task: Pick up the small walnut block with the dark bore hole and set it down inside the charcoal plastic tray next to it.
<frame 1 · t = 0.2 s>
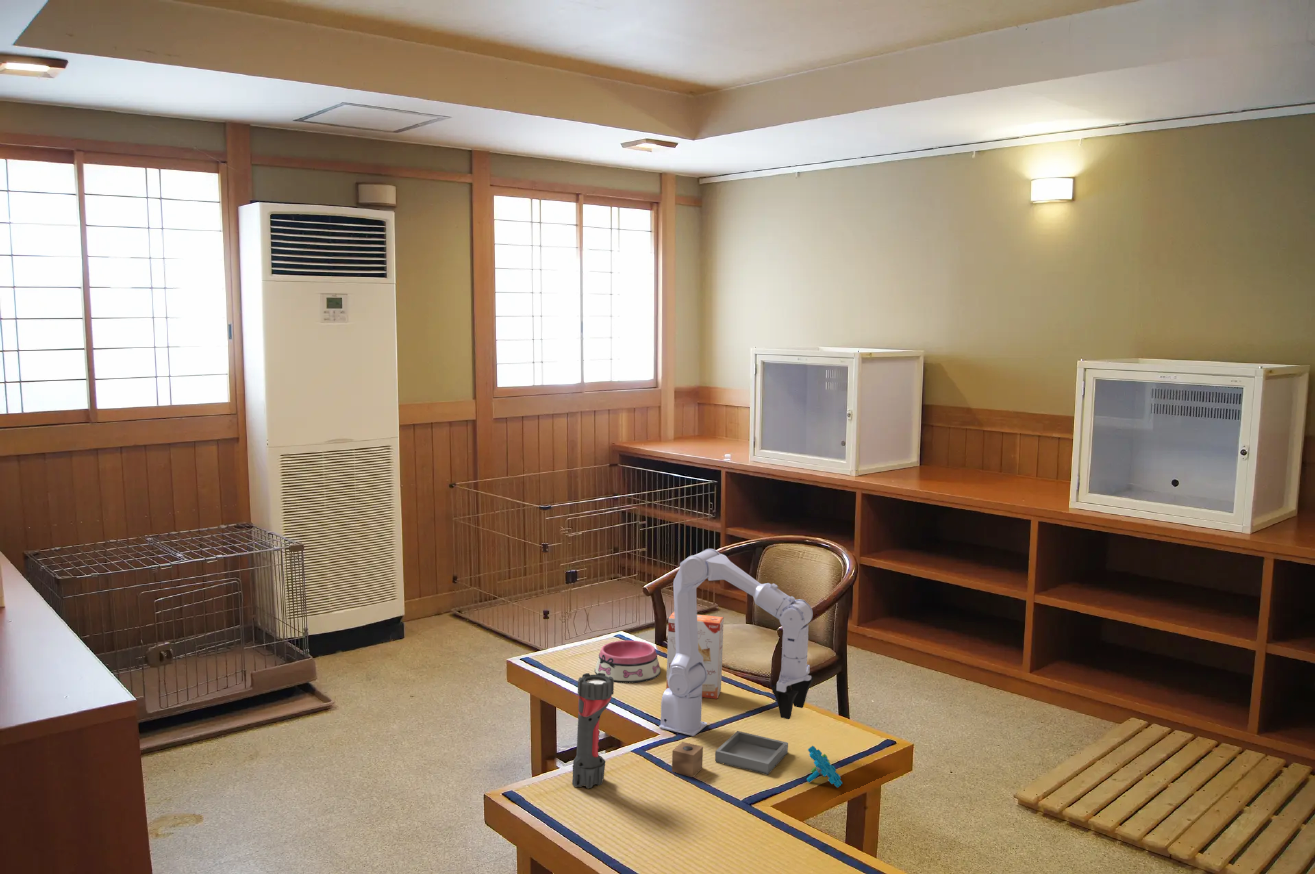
hand: (792, 712, 220), 10 cm above the table, tool pointing down, fingers open, 7 cm apart
tray: (751, 757, 219), on the table
dog bowl: (627, 672, 271), on the table
walnut block: (687, 770, 212), on the table
gear: (823, 783, 208), on the table
cracker box: (693, 693, 256), on the table
flashlight: (593, 782, 206), on the table
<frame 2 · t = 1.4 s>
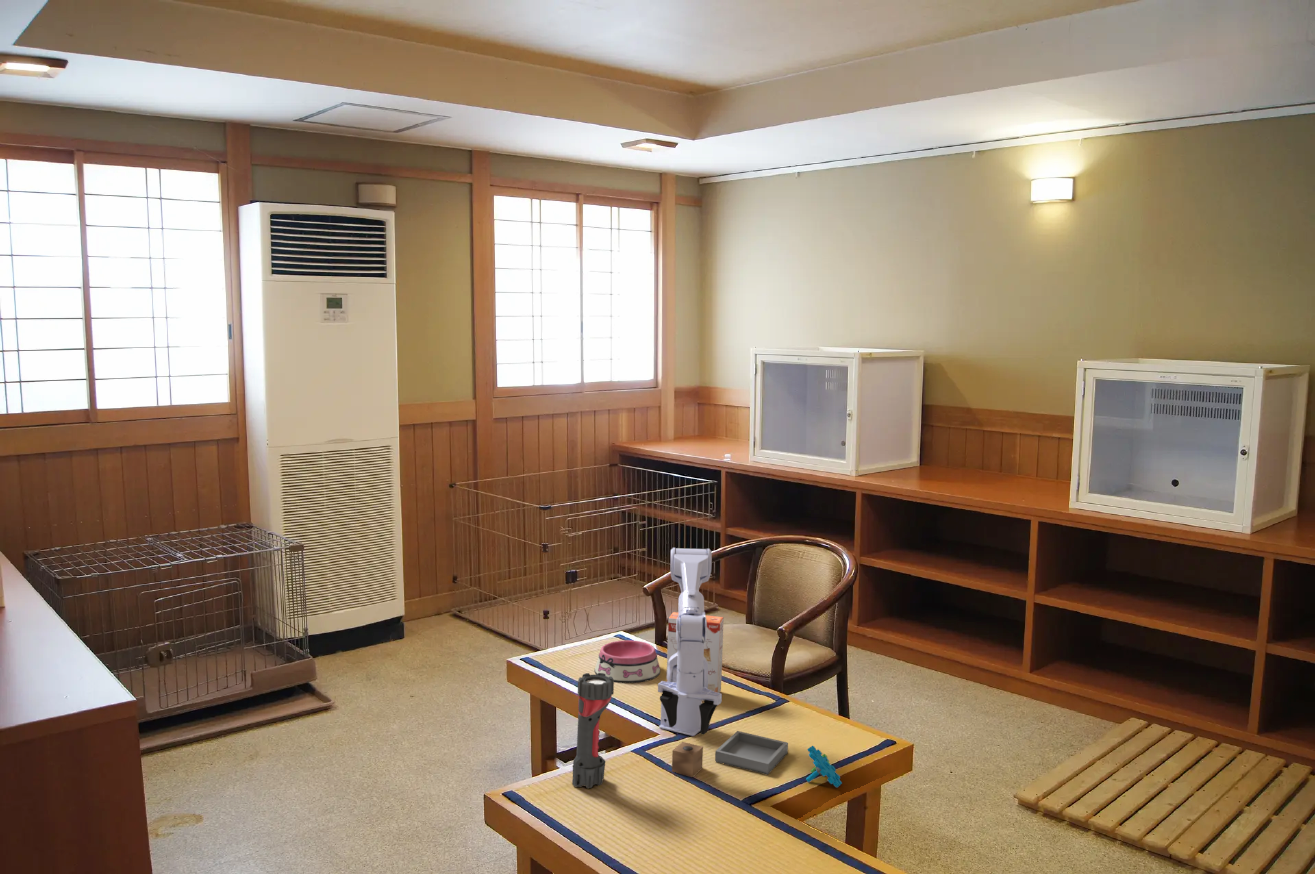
hand: (688, 729, 211), 9 cm above the table, tool pointing down, fingers open, 7 cm apart
nothing on the table moved.
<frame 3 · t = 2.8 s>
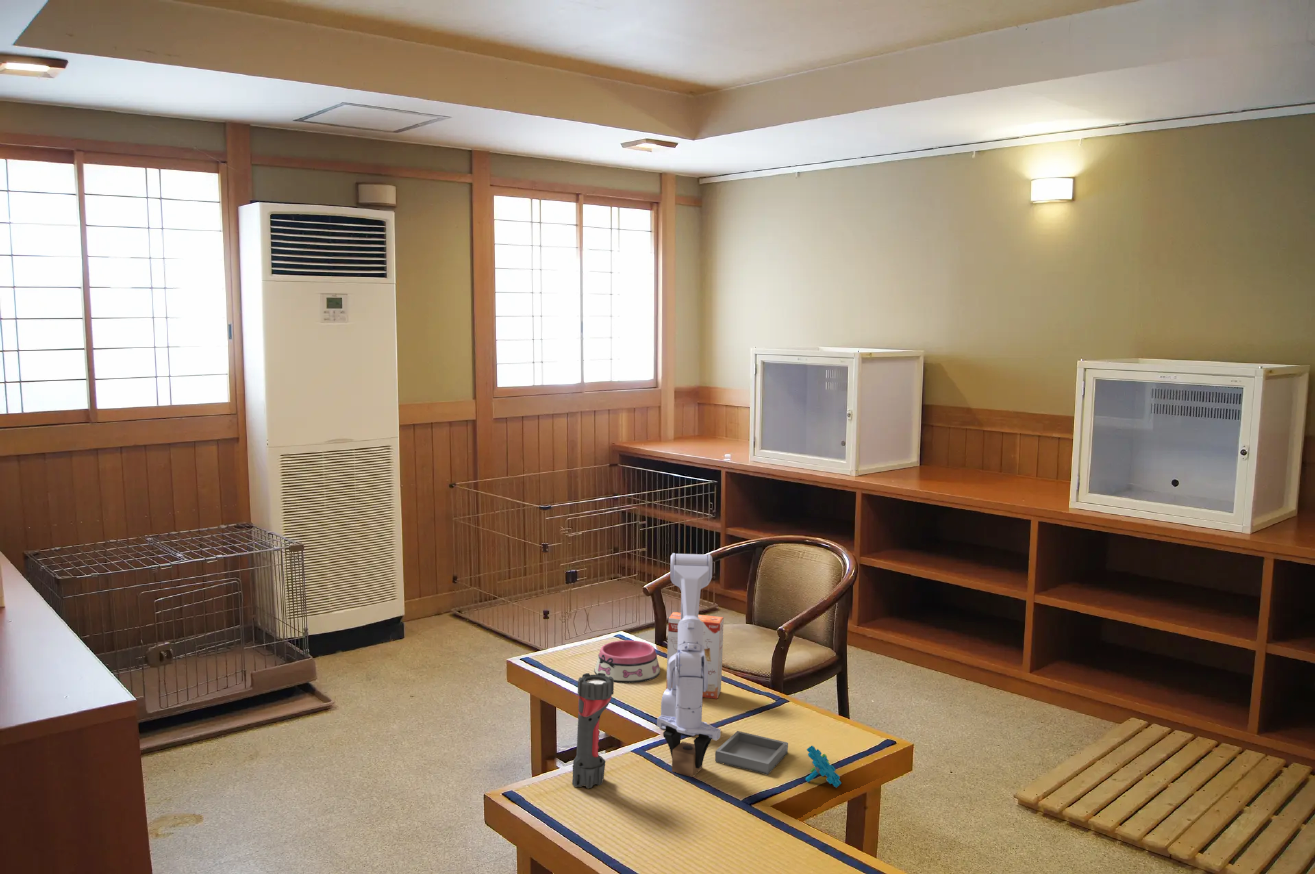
hand: (687, 763, 212), 1 cm above the table, tool pointing down, fingers closed on walnut block, 5 cm apart
walnut block: (687, 769, 212), on the table, touching gripper
everything else where it was.
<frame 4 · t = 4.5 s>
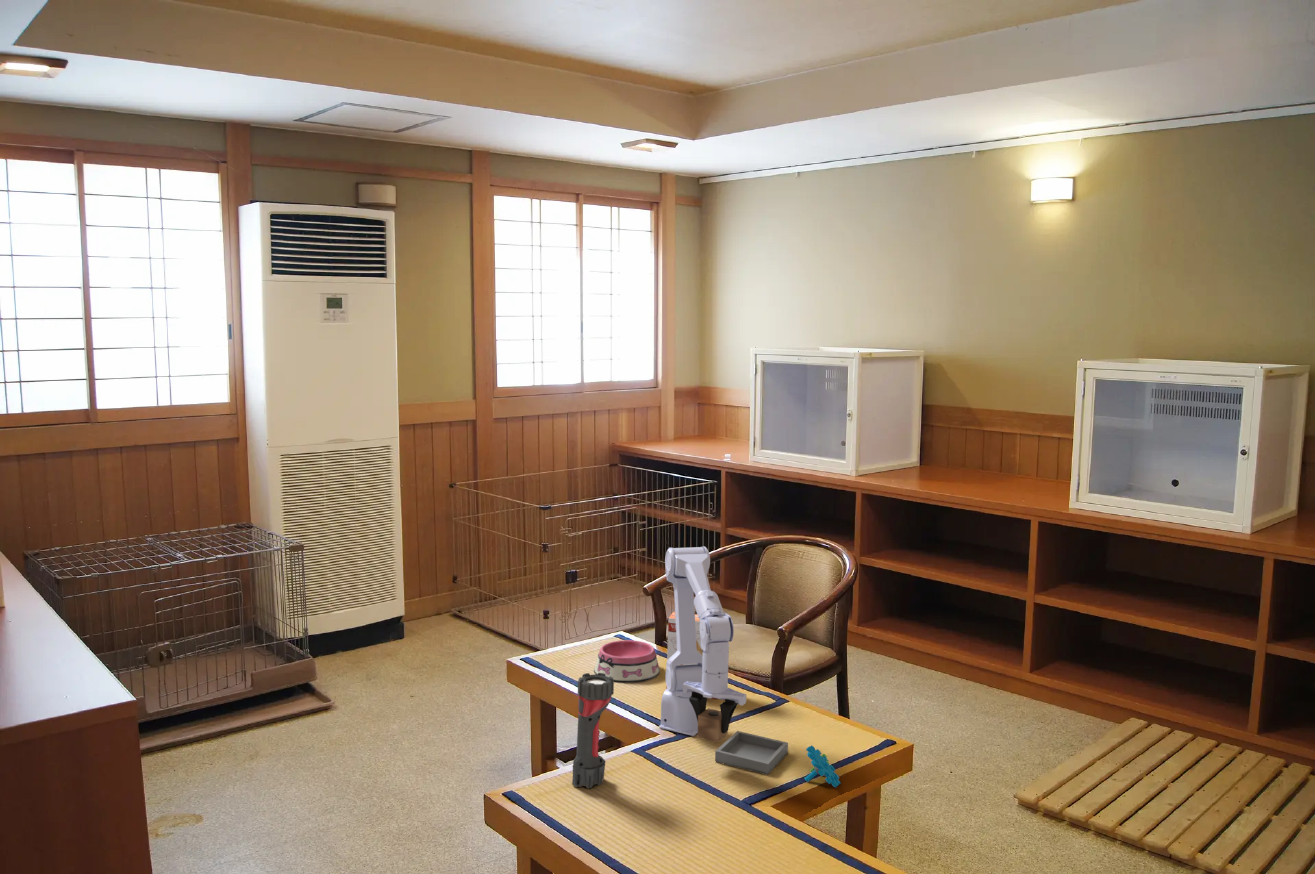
hand: (713, 728, 214), 8 cm above the table, tool pointing down, fingers closed on walnut block, 5 cm apart
walnut block: (712, 735, 214), point 7 cm above the table, touching gripper
everything else where it was.
when the fingers open (3 cm above the table, at t = 6.6 s): walnut block drops 1 cm, resting on tray.
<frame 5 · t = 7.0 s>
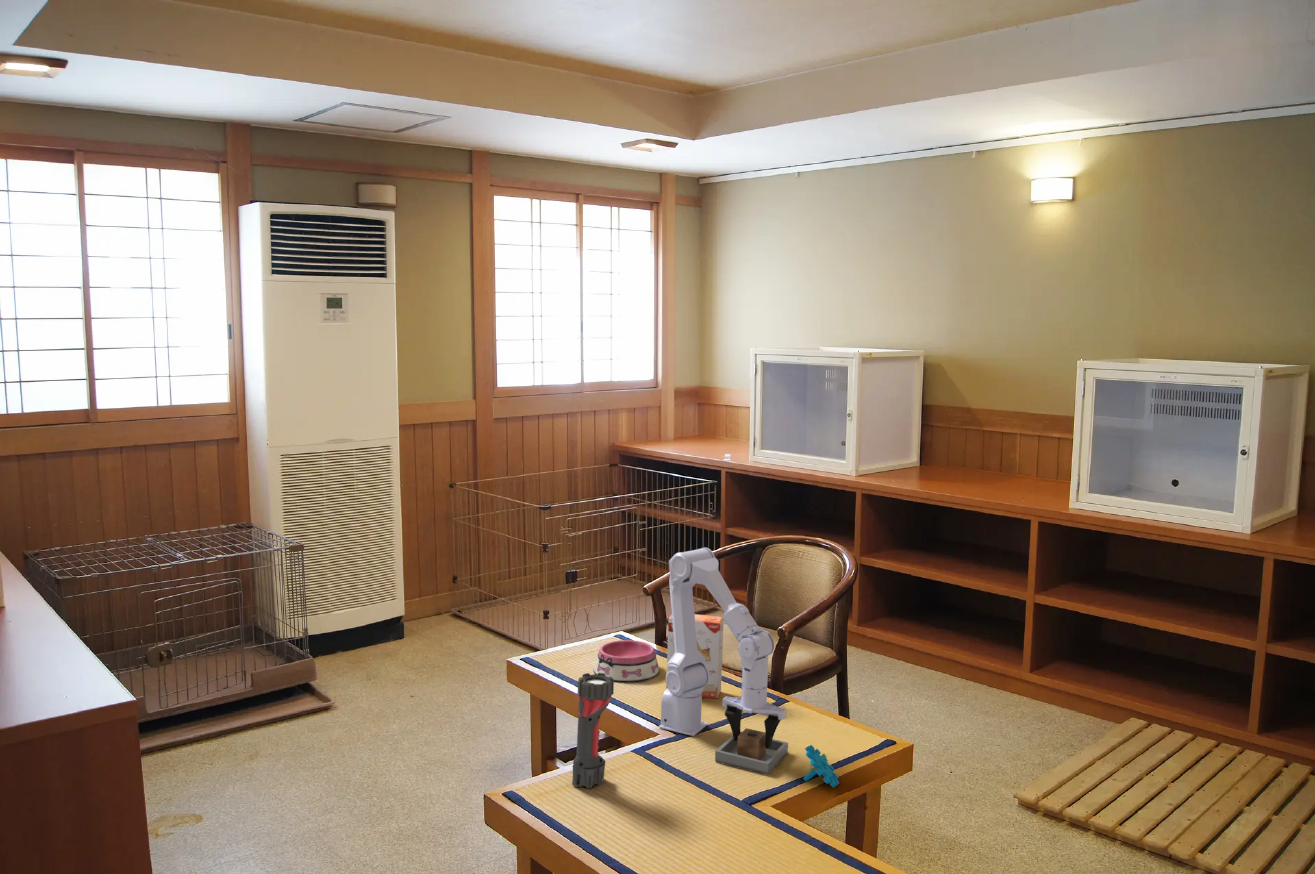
hand: (752, 742, 219), 3 cm above the table, tool pointing down, fingers open, 7 cm apart
walnut block: (751, 755, 219), resting on tray
everything else where it was.
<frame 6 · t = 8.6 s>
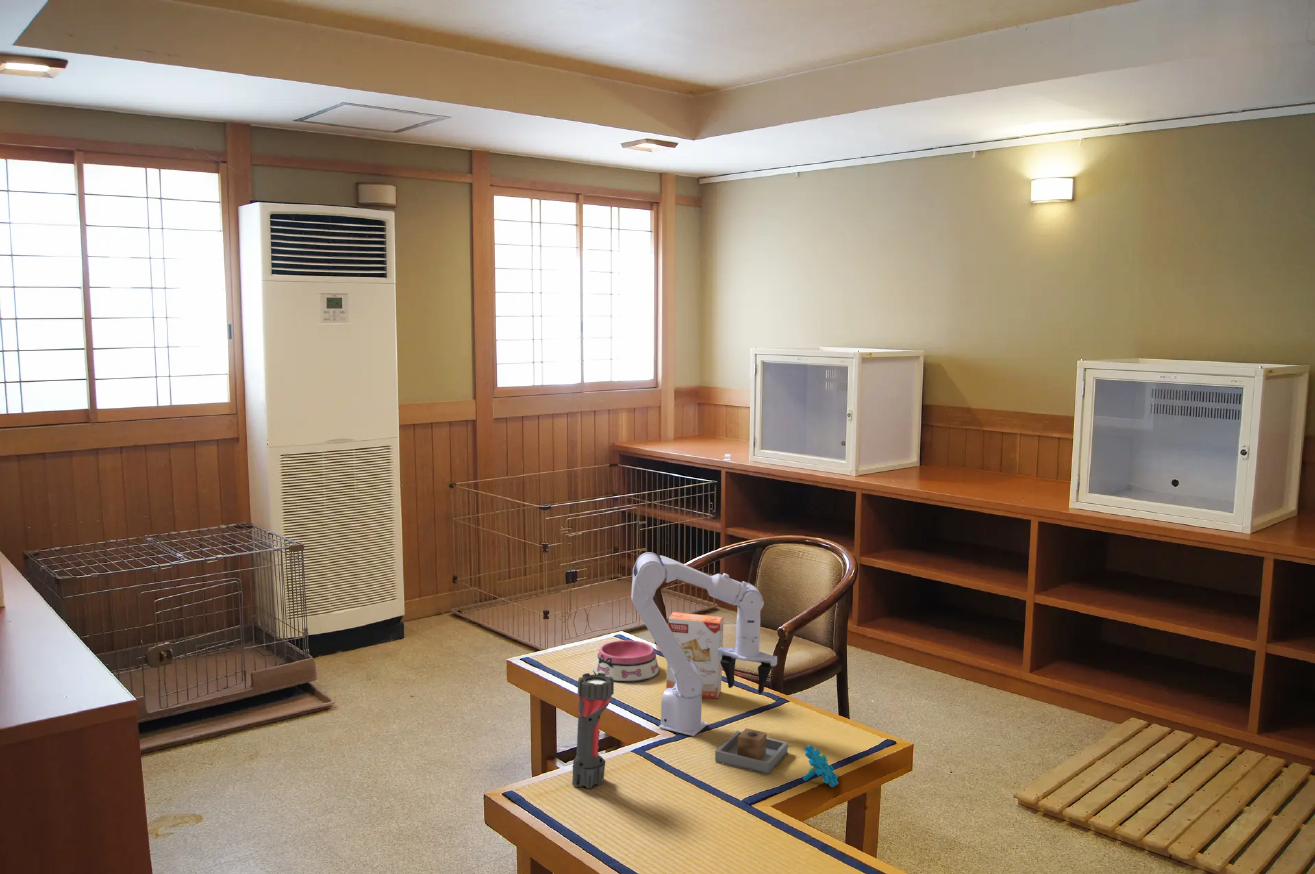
hand: (745, 689, 235), 9 cm above the table, tool pointing down, fingers open, 7 cm apart
nothing on the table moved.
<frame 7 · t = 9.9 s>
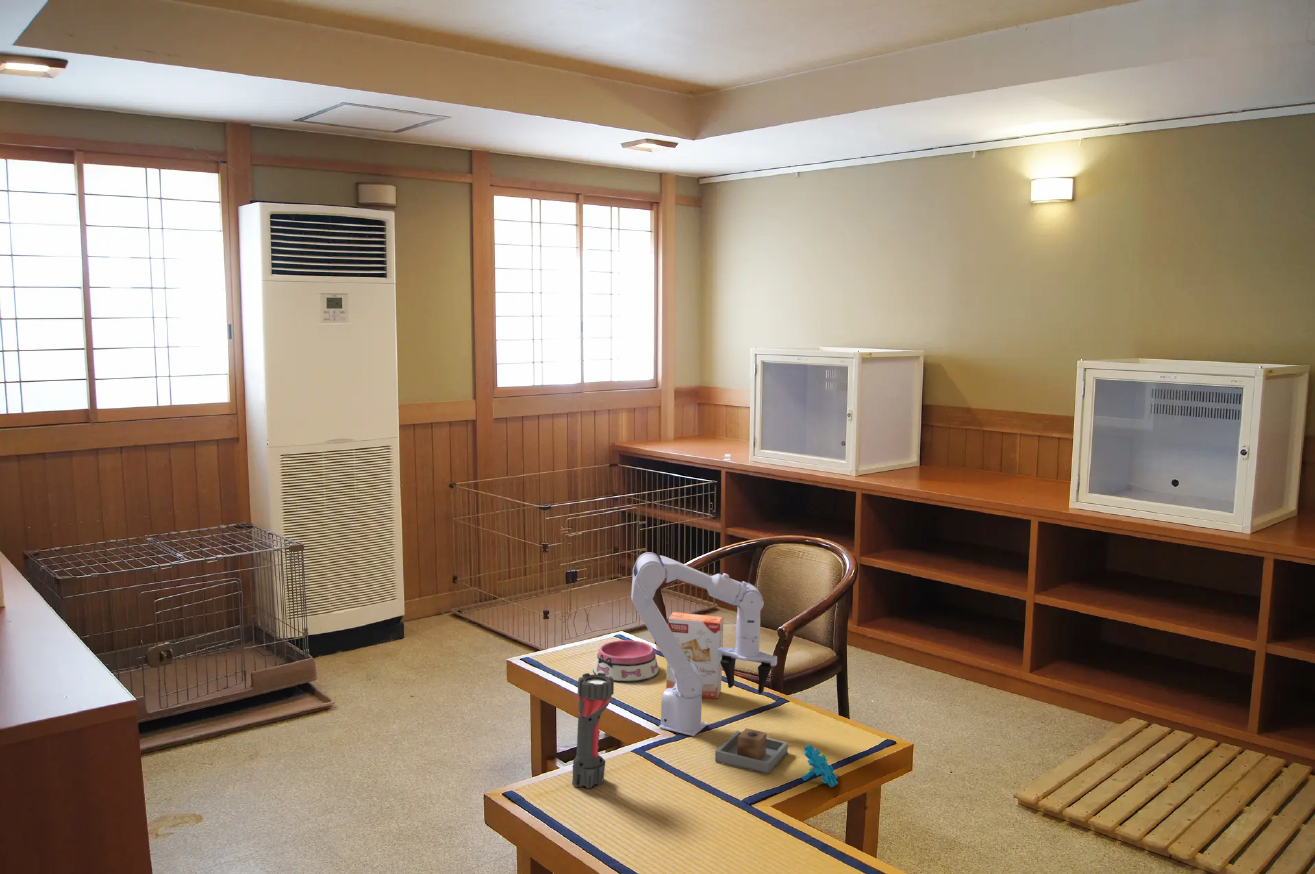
hand: (745, 689, 235), 9 cm above the table, tool pointing down, fingers open, 7 cm apart
nothing on the table moved.
at the end: walnut block inside the target area on the tray (0.2 cm from its centre), point 0.5 cm above the tray's base; walnut block tilted 0°; the gripper is holding nothing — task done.
